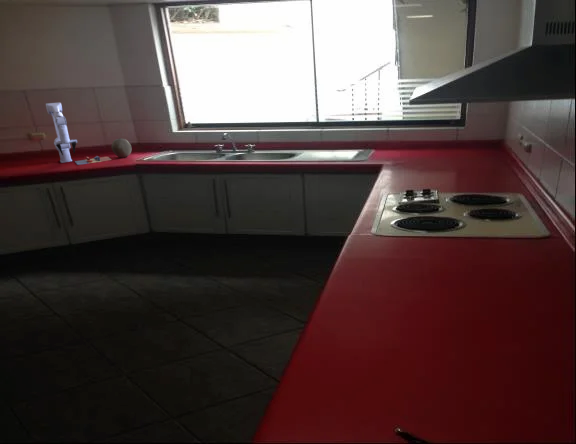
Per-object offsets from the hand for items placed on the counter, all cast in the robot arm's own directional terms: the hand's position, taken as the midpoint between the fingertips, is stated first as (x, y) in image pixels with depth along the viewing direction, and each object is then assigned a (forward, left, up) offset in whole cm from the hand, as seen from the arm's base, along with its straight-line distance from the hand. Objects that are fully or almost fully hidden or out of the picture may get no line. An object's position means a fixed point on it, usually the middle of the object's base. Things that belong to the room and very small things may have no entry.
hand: (68, 154), depth 295 cm
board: (-14, +17, -10) cm, 24 cm away
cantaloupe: (-8, +38, -10) cm, 40 cm away
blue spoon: (-15, +20, -10) cm, 27 cm away
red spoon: (-14, +14, -10) cm, 22 cm away
